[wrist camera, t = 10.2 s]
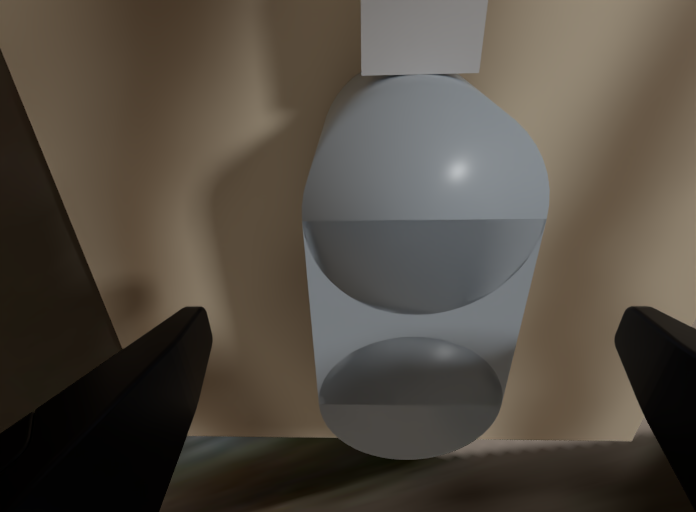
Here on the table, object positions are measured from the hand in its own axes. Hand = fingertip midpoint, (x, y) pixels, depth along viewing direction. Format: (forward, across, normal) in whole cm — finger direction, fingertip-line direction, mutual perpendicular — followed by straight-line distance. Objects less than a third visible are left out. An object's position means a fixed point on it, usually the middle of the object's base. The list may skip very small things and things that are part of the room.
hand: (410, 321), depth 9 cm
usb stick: (+4, 0, -1) cm, 4 cm away
